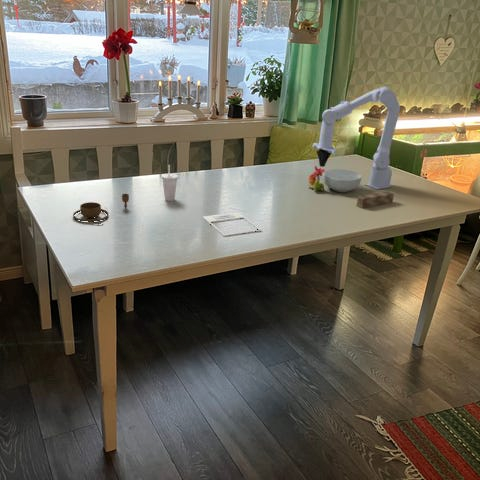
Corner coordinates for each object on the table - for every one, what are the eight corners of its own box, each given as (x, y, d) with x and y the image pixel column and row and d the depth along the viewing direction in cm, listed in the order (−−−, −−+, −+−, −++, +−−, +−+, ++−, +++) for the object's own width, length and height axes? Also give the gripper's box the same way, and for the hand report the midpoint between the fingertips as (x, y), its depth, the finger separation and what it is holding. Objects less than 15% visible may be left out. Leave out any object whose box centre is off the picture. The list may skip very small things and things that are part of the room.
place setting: (73, 210, 184) (72, 194, 182) (129, 207, 190) (128, 192, 188) (73, 228, 169) (72, 212, 167) (134, 225, 175) (134, 209, 173)
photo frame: (238, 211, 190) (261, 229, 176) (238, 214, 191) (261, 232, 176) (202, 216, 184) (223, 234, 169) (202, 218, 184) (223, 237, 170)
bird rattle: (304, 193, 224) (317, 191, 217) (300, 168, 224) (313, 165, 216) (315, 192, 228) (328, 189, 220) (311, 167, 227) (324, 164, 219)
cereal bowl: (329, 181, 237) (331, 166, 234) (364, 188, 230) (366, 173, 227) (315, 189, 224) (317, 174, 221) (351, 198, 216) (353, 182, 213)
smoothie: (158, 199, 198) (158, 165, 193) (167, 195, 204) (168, 161, 198) (171, 203, 196) (172, 168, 190) (181, 199, 201) (181, 164, 195)
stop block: (386, 200, 216) (388, 191, 215) (392, 202, 214) (394, 193, 212) (356, 205, 207) (357, 196, 206) (361, 208, 205) (363, 198, 203)
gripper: (309, 133, 232) (305, 162, 237) (330, 141, 221) (326, 171, 226) (320, 133, 236) (317, 161, 241) (342, 140, 225) (337, 169, 230)
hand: (322, 166), depth 234 cm, fingers closed
